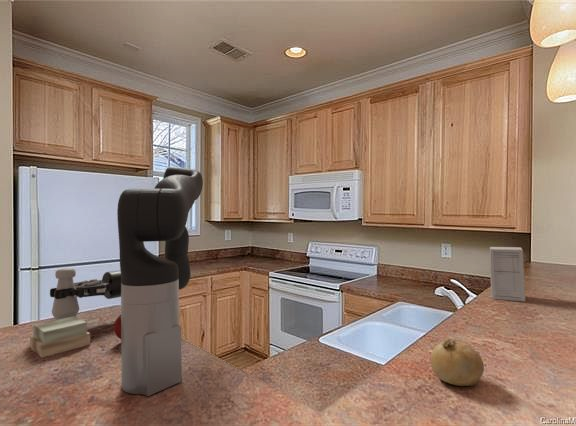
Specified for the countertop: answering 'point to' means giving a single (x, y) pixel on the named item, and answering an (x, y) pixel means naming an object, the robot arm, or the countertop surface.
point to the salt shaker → (68, 304)
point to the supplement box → (507, 273)
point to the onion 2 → (456, 363)
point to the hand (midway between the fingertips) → (52, 293)
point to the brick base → (59, 345)
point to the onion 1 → (118, 327)
